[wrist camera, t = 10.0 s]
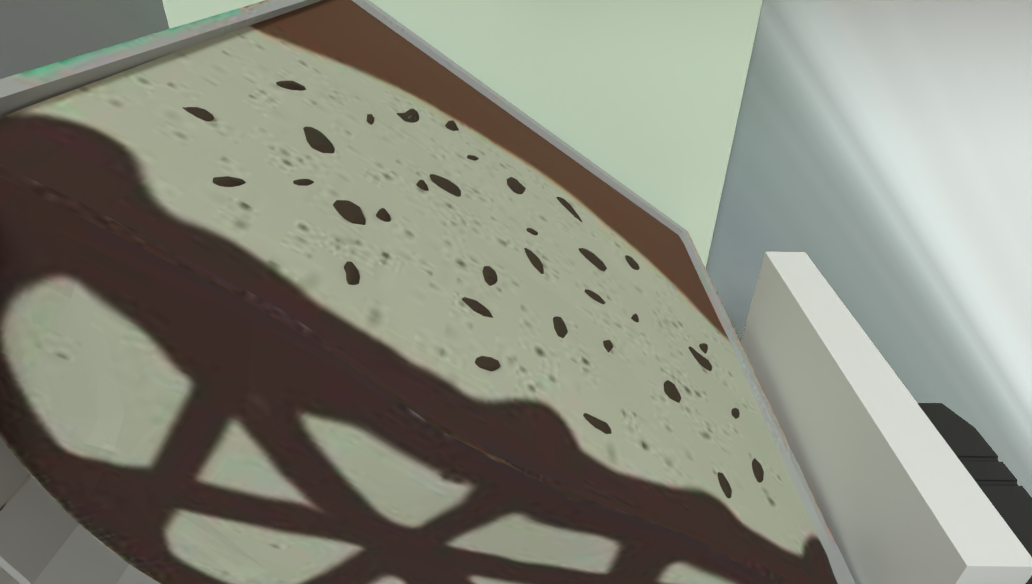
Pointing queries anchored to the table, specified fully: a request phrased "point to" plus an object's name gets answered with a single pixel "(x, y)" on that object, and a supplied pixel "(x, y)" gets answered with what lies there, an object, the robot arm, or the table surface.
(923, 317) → the table surface
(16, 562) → the food container
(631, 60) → the coaster
